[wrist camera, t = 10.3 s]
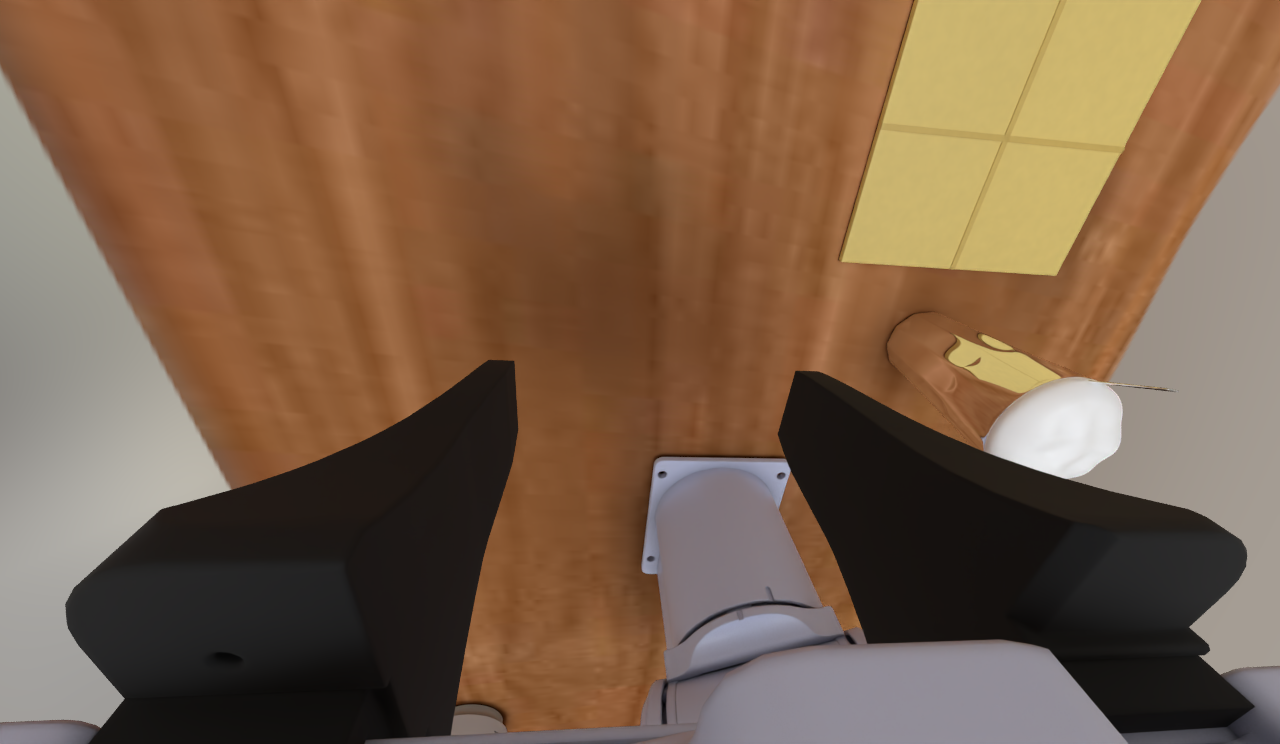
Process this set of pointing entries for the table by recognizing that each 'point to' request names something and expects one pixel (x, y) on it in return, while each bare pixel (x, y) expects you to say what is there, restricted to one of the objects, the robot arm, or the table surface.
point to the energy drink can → (476, 720)
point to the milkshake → (1009, 396)
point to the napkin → (1006, 128)
